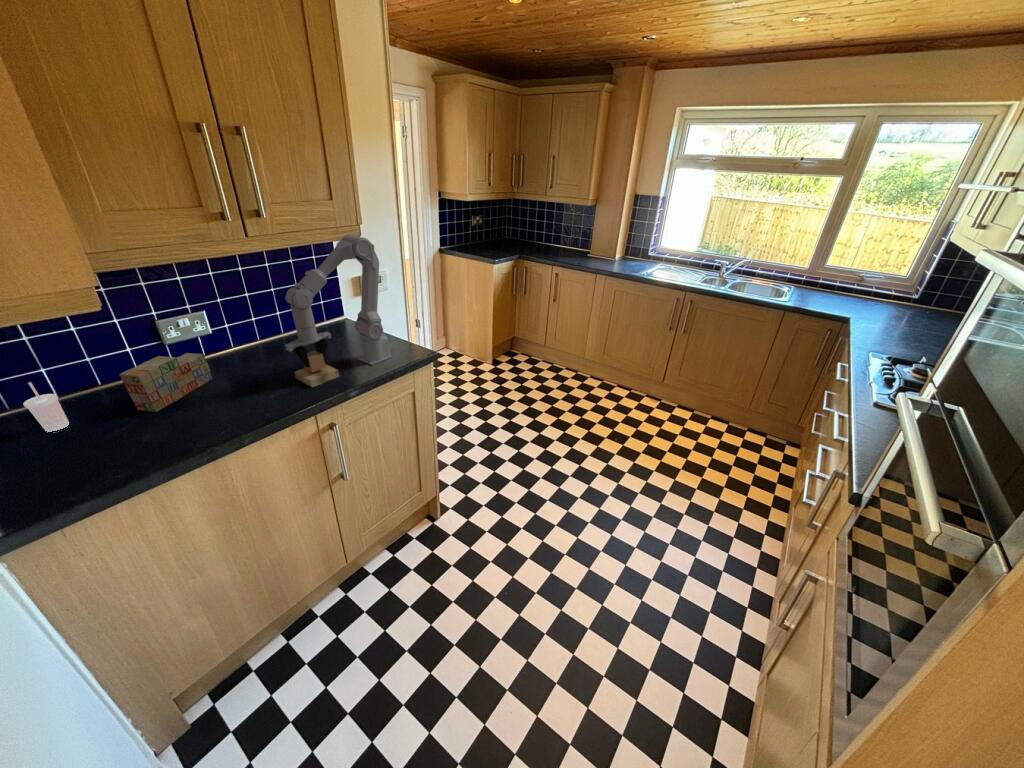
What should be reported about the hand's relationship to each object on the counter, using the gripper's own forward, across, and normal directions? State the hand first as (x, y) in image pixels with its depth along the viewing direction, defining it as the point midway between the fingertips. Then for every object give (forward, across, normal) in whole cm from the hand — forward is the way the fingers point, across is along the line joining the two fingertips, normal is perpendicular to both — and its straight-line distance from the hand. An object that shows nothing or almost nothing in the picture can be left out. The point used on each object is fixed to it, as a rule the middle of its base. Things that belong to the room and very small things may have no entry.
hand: (314, 363), depth 135 cm
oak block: (+6, 0, 0) cm, 6 cm away
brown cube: (+2, 0, 0) cm, 2 cm away
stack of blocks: (+6, +32, -24) cm, 41 cm away
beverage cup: (+5, +59, -28) cm, 66 cm away
